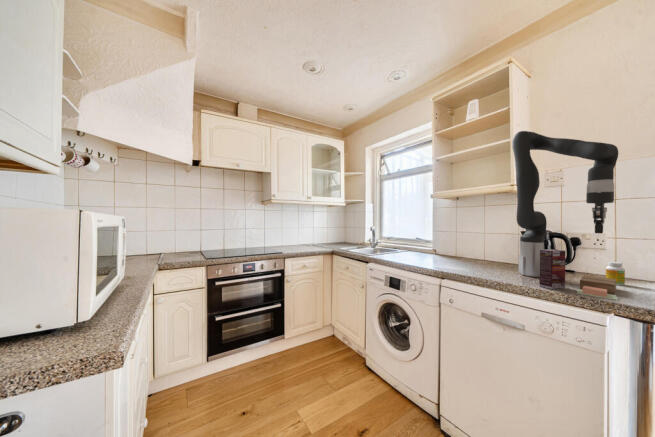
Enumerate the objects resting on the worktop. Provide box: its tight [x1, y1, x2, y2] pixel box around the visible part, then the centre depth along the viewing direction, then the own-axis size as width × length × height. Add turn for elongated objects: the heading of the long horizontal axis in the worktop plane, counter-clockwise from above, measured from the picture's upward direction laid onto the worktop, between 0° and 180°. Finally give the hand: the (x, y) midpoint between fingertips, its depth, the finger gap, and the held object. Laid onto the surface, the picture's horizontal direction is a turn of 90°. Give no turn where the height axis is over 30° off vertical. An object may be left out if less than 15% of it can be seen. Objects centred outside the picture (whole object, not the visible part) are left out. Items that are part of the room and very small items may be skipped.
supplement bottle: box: [605, 261, 626, 286], centre depth 106 cm, size 5×5×10 cm
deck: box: [579, 274, 617, 295], centre depth 97 cm, size 14×9×4 cm, turn 128°
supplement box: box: [538, 248, 567, 290], centre depth 100 cm, size 9×5×16 cm, turn 106°
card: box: [582, 286, 607, 297], centre depth 90 cm, size 5×6×2 cm
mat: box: [576, 288, 619, 301], centre depth 90 cm, size 10×7×1 cm
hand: (598, 233), depth 98 cm, fingers closed
